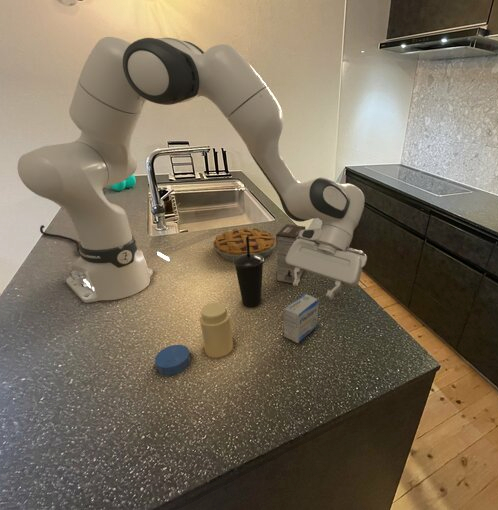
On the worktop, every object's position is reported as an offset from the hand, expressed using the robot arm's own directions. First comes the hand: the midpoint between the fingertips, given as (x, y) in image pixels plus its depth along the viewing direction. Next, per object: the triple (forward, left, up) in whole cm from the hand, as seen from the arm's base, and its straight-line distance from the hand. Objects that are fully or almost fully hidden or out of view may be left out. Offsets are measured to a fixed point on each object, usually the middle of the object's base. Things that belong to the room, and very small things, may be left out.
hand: (312, 292), depth 76 cm
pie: (-41, +22, -9) cm, 47 cm away
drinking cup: (-18, -2, -9) cm, 20 cm away
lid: (-18, -27, -7) cm, 33 cm away
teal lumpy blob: (-141, +41, -9) cm, 147 cm away
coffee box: (-17, +16, -9) cm, 25 cm away
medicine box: (0, -5, -9) cm, 10 cm away
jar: (-13, -19, -9) cm, 25 cm away
